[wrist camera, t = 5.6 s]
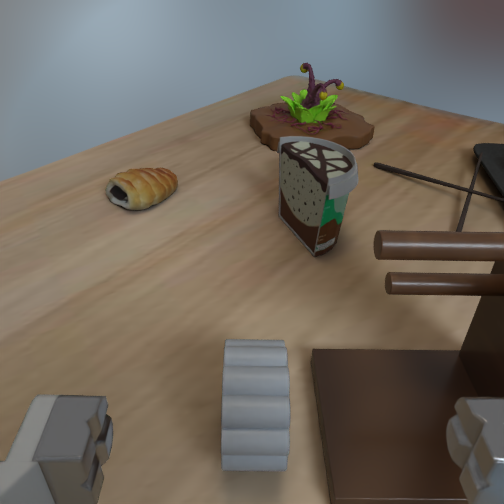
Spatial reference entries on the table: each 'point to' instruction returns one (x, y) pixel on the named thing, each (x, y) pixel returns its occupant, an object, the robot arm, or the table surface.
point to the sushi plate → (494, 162)
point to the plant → (311, 118)
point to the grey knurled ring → (255, 406)
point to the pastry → (141, 187)
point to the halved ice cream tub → (314, 189)
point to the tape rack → (411, 382)
